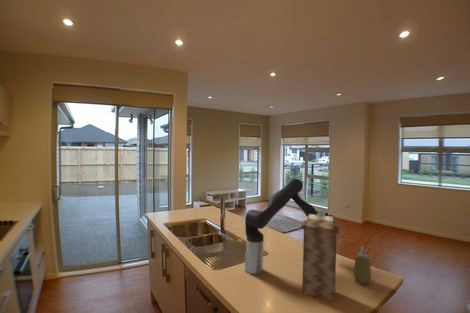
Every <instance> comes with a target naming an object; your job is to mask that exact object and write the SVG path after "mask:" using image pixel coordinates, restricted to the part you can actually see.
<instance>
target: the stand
mask: <svg viewBox="0 0 470 313" xmlns="http://www.w3.org/2000/svg"><path fill="white" fill-rule="evenodd" d="M301 230H303V242H302V243H303V247H302V248H303V251H302V287H301V288H302V291H301V293H302V294H303V295H307V296H312V297H315V298H319V299H324V300H328V301H332V302H336V301H335V299H336V275H337V274H336V273H337V272H336V267H337V238H338V237H337V235H338V234H339V235H340V224H337V223H333V229H326V228H319V227H311V226H307V220H304V219H303V221H302V224H301Z"/></svg>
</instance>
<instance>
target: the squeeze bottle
mask: <svg viewBox="0 0 470 313" xmlns="http://www.w3.org/2000/svg"><path fill="white" fill-rule="evenodd" d="M359 251H360V252H359ZM359 251H358V252H357V256H355V260H354V261H355V262H354V268H353V276H354V279H355V282H357V283H359V284H361V285H368V284H370V281H371V279H372V271H371V269H372V268H371V260H370V258H369V254H368V253H367V252H366V249H365V246H361V248H360V250H359Z"/></svg>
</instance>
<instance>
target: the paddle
mask: <svg viewBox="0 0 470 313" xmlns="http://www.w3.org/2000/svg"><path fill="white" fill-rule="evenodd" d="M317 211H318V213H317V215H312V214H309V215H308V218H306V219H307V220H306V221H307V226H311V227H319V228H326V229H333V224H334V223H333V217H334V216H333V217H330V215H329V216H325V212H326V210H321V209H319V210H317Z"/></svg>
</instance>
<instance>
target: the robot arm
mask: <svg viewBox="0 0 470 313" xmlns="http://www.w3.org/2000/svg"><path fill="white" fill-rule="evenodd" d="M303 188H304V183H303V181H302V180H301V179H299V178H293V179H291V180H289V182H288V183H286V185H285V186H284V187H283V188H281V189H280V190H279V191H277V192H276V193H274V194H272V195H271V197H269V199H268V200H267V207H266V208H265V209H263V210H262V211H260V210H256V209H249V210H248V211H247V212H246V214H245V219H244V220H245V224H244V225H245V228H244V229H245V236H246V252H245V255H244V272H246V273H249V274H251V275H260V274H263V272H264V234H263V233H262V232H261V231H260V230H261V229H264V228H265V227H266V226H267V225H268V224H269V222H271V220H272V218H274V216H276V215H277V213H279V212H280V210H282V209H283V208H284V207H285V206H286V205H287V204H288V203H289V202H290V201H291V200H292V201H293V202H294V203H295V204H296V205H297V206H298V207H299V209H301V210H302V211H303V213H304V214H305V216H306V217H307V218H308V215H309V214H312V215H317V213H318V210H316V209H315V207H314V205H312V204H310V203H309V202H307V201H305V200H304V199H303V198H301V197H300V196H299V193H300V192H301V191H302V190H303ZM325 216H330V217H333V224H336V217H335V216H333V214H329V213H327V212H325ZM307 218H306V219H307ZM259 229H260V230H259Z"/></svg>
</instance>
